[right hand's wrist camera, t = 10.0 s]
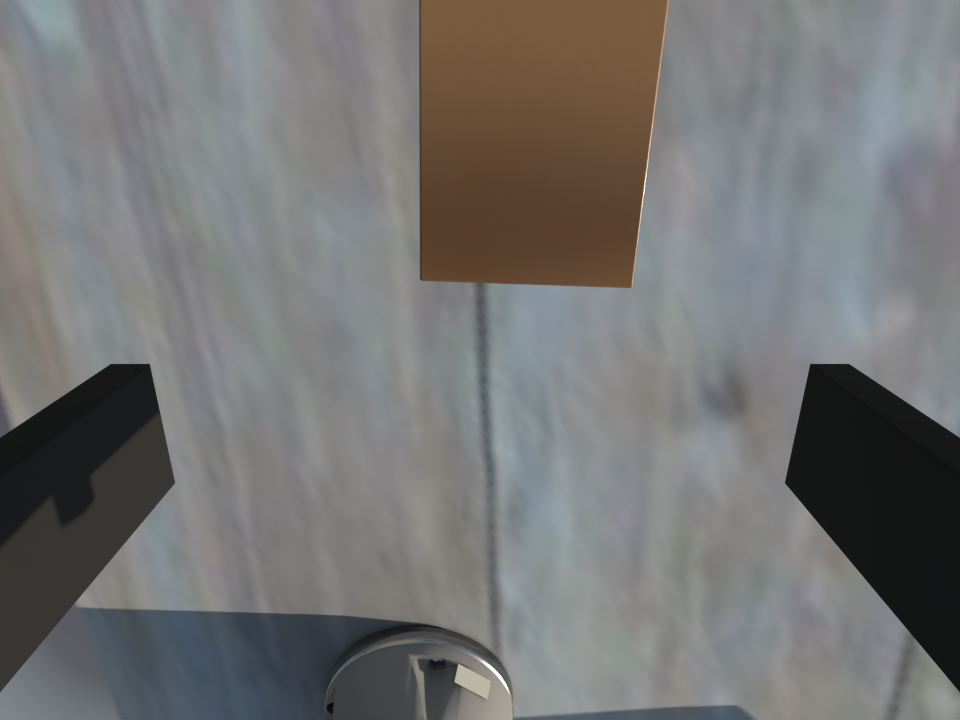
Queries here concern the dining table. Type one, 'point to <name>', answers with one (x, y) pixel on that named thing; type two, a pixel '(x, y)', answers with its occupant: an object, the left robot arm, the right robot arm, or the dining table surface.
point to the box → (535, 138)
